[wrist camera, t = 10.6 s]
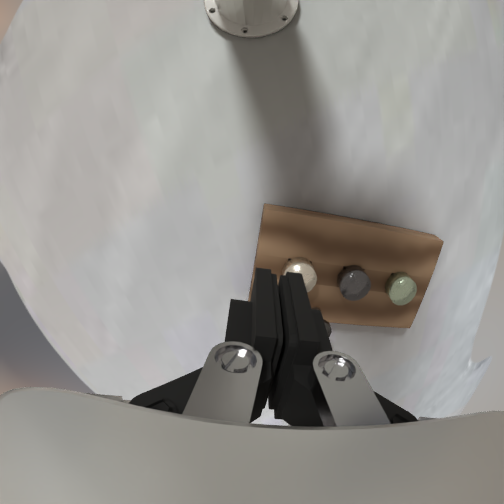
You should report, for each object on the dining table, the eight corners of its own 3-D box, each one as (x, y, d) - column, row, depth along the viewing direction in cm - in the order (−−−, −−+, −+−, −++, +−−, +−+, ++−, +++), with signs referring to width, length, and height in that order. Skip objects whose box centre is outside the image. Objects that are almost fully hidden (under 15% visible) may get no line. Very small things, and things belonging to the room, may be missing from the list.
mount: (264, 203, 43) (264, 209, 40) (434, 235, 44) (443, 241, 41) (247, 302, 49) (247, 313, 46) (403, 318, 50) (410, 328, 47)
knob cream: (284, 247, 45) (287, 262, 40) (313, 251, 45) (320, 267, 40) (278, 274, 46) (280, 292, 41) (307, 278, 46) (312, 296, 42)
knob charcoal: (336, 254, 45) (345, 270, 40) (363, 259, 45) (374, 274, 40) (329, 281, 47) (337, 299, 42) (355, 284, 47) (365, 302, 42)
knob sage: (383, 262, 45) (396, 277, 40) (406, 265, 45) (420, 280, 40) (375, 286, 47) (386, 304, 42) (398, 289, 47) (410, 306, 42)
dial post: (306, 302, 45) (311, 322, 40) (327, 304, 45) (334, 324, 41) (301, 320, 46) (306, 340, 42) (321, 322, 46) (327, 342, 42)
